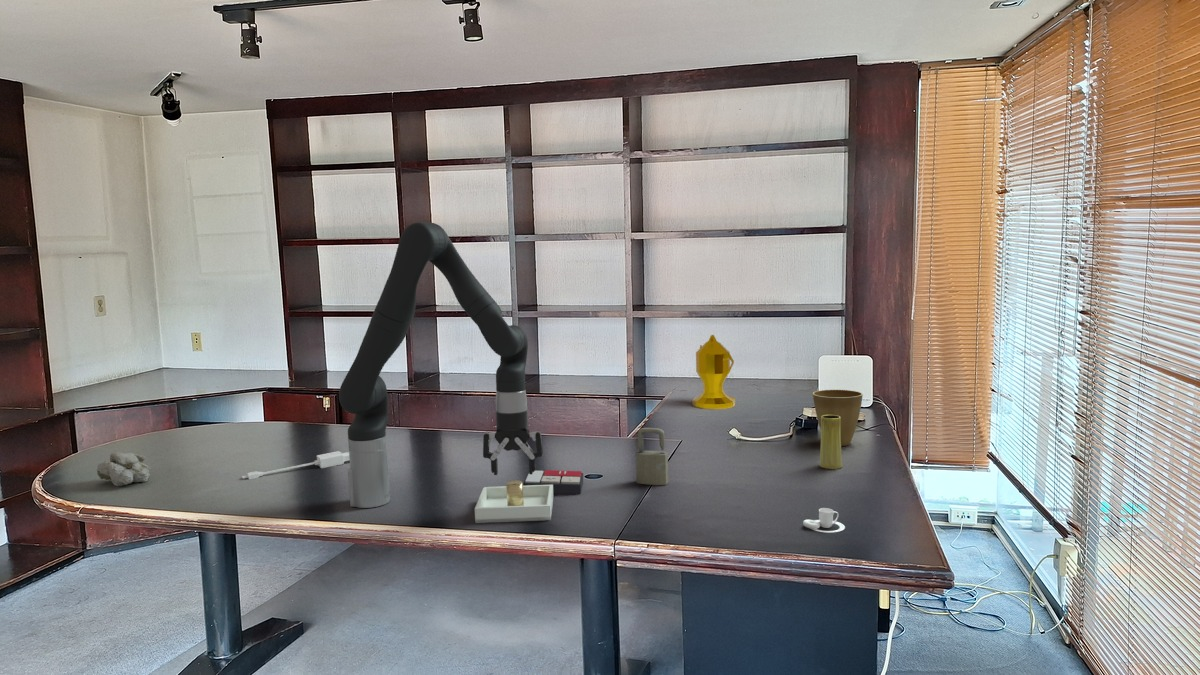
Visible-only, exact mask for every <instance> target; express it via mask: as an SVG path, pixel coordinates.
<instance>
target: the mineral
mask: <svg viewBox="0 0 1200 675" xmlns="http://www.w3.org/2000/svg"><path fill="white" fill-rule="evenodd" d="M146 458H147V457H146V456H144V455H142V454H141V455H139V454H137V453H132V452H131V453H130V452H125V453H123V452H120V451H118V452H117V451H116V452H115V451H114V452H111V453H110V454H109V460H110V461H102V462H100V463H98V465H97V468H96V474H97V476H98V477H99V479H100V480H105V481H107V480H110V482H111V483H112V484H113V485H114V486H116V487H123V486H125V485H126V486H127V485H128V484H132V483H146V482H149V477H150V476H151V474H150V471H151V470H152V468H151V466H149V465H147V464H146V463H145V460H146Z"/></svg>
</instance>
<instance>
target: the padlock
mask: <svg viewBox="0 0 1200 675" xmlns="http://www.w3.org/2000/svg"><path fill="white" fill-rule="evenodd" d="M644 434H655V435H657V434H658V436H659V437H658V438H659V439H658V440H659V447H660V449H661V451H660V450H644ZM665 442H666V436H665V431H664V430H663V429H661V428H658V427H643V428H639V430H638V431H637V451H636V452H635V466H636V467H635V470H636V472H635V473H636V484H640V485H641V484H642V485H649V486H650V485H651V486H663V485H664V486H667V484H668V483H669V454H668V451H667V452H666V451H664V449H665V445H666V443H665Z"/></svg>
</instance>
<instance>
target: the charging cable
mask: <svg viewBox="0 0 1200 675" xmlns="http://www.w3.org/2000/svg"><path fill="white" fill-rule="evenodd" d="M348 461H349V462H350V457H349V451H347V452H341V451H340V450H338V451H333V452H328V453H322V454H317V455H316V460H313V461H312V462H308V463H303V464H299V465H298V464H297V465H294V466H293V465H292V466H288V467H283V468H278V469H273V470H269V471H257V470H256V471H251V472H247V473H246V474H245V475H242V476H241V479H243V480H244V479H248V480H253V479H259V478H260V477H263V476H264V475H268V474H272V473H278V472H281V471H287V470H292V469H297V468H301V467H307V466H312V465H315V466H317V467H319V469H325V468H326V469H327V468H331V467H337V465H338V466H342V464H343V465H345V462H348Z"/></svg>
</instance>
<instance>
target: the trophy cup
mask: <svg viewBox="0 0 1200 675" xmlns="http://www.w3.org/2000/svg"><path fill="white" fill-rule="evenodd" d="M734 363H735V360H734V359H733V357H732V356H731V353H730V351H729V350H728V349H727V348H726V347H725V346H724V345H723V344H722V343H721V342H719V341H717V338H716V337H715V335H714V334H710V336H709V338H708V340H707V341H706V342H705V343H704V344H702V345H699V349H697V351H696V352H695V370H696V373H697V375H698V377H699V379H700V380H701V382H702V384H703V386H702V387H703V391H702V392H701V394H700V395H698V396H696V397H694V398H693V399H692V401H691V402H692V406H693V407H695V408H700V409H703V410H726V409H730V408H733V407H735V405H736V397H735V396H734V397H733V396H729V395H727V393H726V392H725V391H724V383H725V381H726V379H727V377H728V375H729V374H730V373H731V370H732V367H733V365H734Z"/></svg>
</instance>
